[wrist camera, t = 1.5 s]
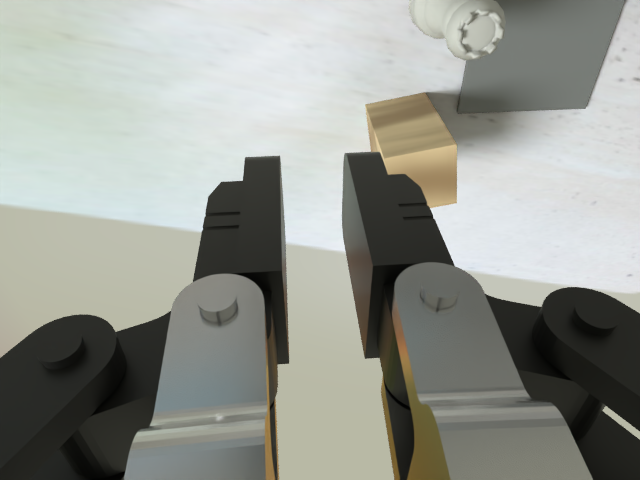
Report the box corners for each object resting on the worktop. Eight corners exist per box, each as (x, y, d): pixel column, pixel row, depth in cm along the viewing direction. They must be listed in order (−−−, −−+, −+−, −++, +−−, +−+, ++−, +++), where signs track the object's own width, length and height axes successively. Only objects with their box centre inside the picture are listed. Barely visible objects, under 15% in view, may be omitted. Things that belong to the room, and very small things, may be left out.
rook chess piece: (485, -34, 31) (538, -3, 24) (460, 38, 33) (503, 82, 27) (418, -47, 30) (456, -19, 24) (398, 28, 33) (428, 70, 26)
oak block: (365, 104, 36) (384, 158, 30) (425, 92, 36) (456, 144, 30) (371, 156, 39) (390, 215, 33) (427, 145, 39) (456, 202, 32)
